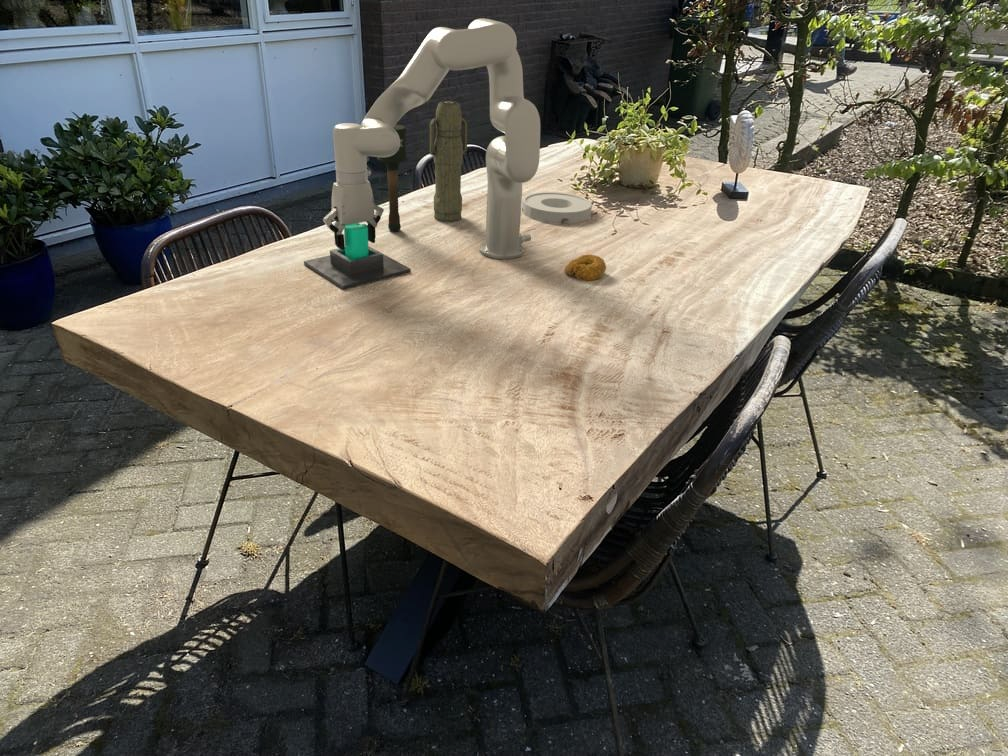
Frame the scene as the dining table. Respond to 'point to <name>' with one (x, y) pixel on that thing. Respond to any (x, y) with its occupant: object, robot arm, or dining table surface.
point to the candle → (356, 241)
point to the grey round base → (556, 207)
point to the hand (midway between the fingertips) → (355, 244)
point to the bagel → (586, 267)
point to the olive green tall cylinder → (448, 160)
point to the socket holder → (356, 268)
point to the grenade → (395, 178)
